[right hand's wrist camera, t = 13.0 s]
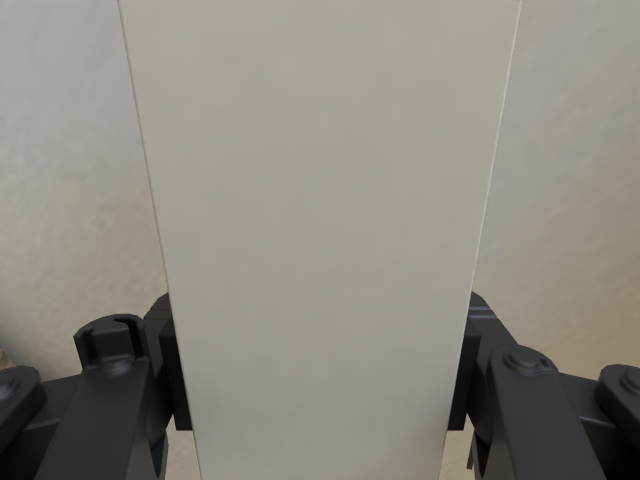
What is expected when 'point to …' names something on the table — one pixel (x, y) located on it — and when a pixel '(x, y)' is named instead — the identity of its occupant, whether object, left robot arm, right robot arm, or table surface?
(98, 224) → the table surface
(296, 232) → the bar
